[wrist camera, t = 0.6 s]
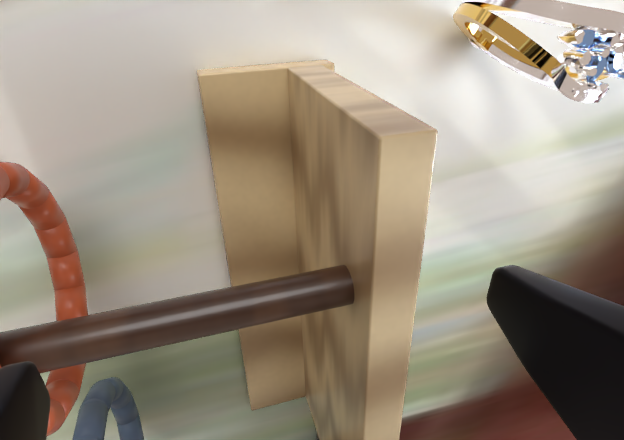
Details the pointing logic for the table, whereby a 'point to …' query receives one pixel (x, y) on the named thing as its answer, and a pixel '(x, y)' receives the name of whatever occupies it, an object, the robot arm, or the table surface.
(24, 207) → the terracotta ring
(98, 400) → the slate ring
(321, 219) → the peg rack
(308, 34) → the table surface
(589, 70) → the ring
